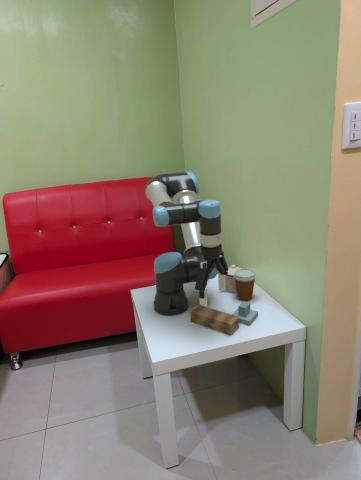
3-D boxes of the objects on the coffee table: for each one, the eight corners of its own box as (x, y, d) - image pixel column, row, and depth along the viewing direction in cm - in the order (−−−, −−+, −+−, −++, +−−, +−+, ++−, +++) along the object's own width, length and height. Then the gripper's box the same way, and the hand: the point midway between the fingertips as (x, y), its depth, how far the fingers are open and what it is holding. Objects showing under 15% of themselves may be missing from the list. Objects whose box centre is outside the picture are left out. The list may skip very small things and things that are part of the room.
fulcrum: (230, 320, 138) (230, 306, 136) (239, 310, 144) (239, 297, 142) (249, 325, 133) (249, 311, 131) (258, 315, 140) (258, 302, 138)
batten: (190, 322, 139) (190, 311, 137) (199, 315, 143) (198, 304, 142) (231, 336, 128) (231, 324, 127) (238, 328, 133) (238, 316, 131)
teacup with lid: (237, 282, 168) (236, 260, 164) (247, 290, 160) (247, 267, 156) (214, 288, 164) (214, 265, 160) (224, 296, 156) (223, 272, 152)
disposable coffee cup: (256, 303, 149) (256, 277, 145) (233, 302, 151) (232, 277, 147) (256, 292, 157) (256, 268, 154) (234, 292, 159) (234, 268, 156)
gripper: (201, 257, 113) (204, 315, 120) (236, 235, 132) (237, 286, 139) (182, 253, 117) (186, 309, 124) (219, 232, 136) (220, 282, 143)
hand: (213, 297), depth 132 cm, fingers open, 13 cm apart
